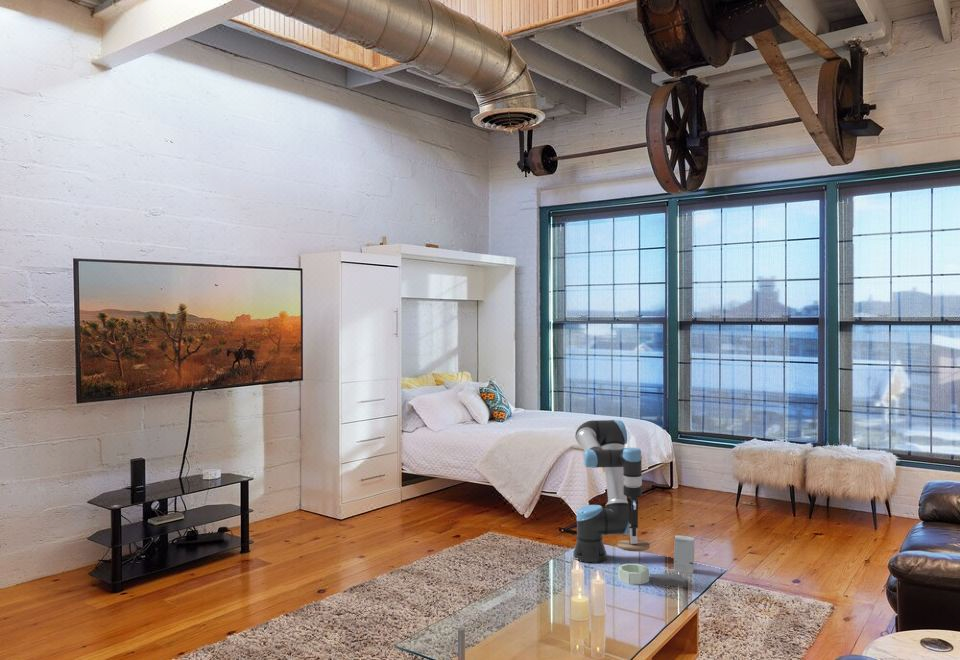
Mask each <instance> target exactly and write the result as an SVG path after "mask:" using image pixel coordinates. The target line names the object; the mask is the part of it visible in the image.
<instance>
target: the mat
mask: <svg viewBox="0 0 960 660" xmlns="http://www.w3.org/2000/svg"><path fill="white" fill-rule="evenodd" d="M649 577H650V578H651V581H652V582H653V585H654V586H682V587H683V586H684V587H685V586H688V583H687V582H686V581H685V579H684V577H683V576H682V574H675V573H672V574H668V573H667V574H665V573H649Z"/></svg>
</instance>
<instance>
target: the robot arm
mask: <svg viewBox="0 0 960 660" xmlns="http://www.w3.org/2000/svg"><path fill="white" fill-rule="evenodd" d="M627 432H628V431H627V427H626V425H625V423H624V422H623V421H622V420H620V419H619V420H618V419H609V420H607V419H604V420H599V419H598V420H594V419H593V420H588V421H585V422H583V423H582V424H581V425H579V426H578V428H577V429H576V431H575V435H574V436H575V440H576V442H577V444H578V445H579V446H580V447H582V449H583V451H584V452H583V463H584V465H583V466H585V467H586V468H592V469H595V468H596V469H597V468H598V469H599V468H604V469H605V471H604V472H605V481H606V490H607V492H606V493H607V502H606V504H605V508H603V506H602V505H599V504H588V505H583V506H581V507H579V508H578V509H577V511H576V542H575V546H574V549H573V556H574V557H575V558H578V559H579V560H581V561H584V562H583V563H587V562H592V563H591V564H593V563H594V564H595V563H596V564H597V563H602V562H605V561H606V560H607V559H608V556H607V555H608V554H607V551H606V550H607V549H606V547H605V545H604V542H603V541H604V537H603V536H615V535H616V536H619V535H620V536H621V535H622V536H625V535H629V528H630V541H631V544H637V540H638V528H639V515H638V513H639V499H638V497H641V496H642V495H643V486H642V484H643V475H642V472H643V471H642V458H643V457H642V450H641V449H640V448H638V447H625V445H626V444H628V433H627ZM627 497H628V498H627ZM629 524H631V527H629ZM574 557H573V558H574ZM581 561H580V562H581Z"/></svg>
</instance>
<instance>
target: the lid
mask: <svg viewBox="0 0 960 660" xmlns="http://www.w3.org/2000/svg"><path fill="white" fill-rule="evenodd" d="M629 527H631V524H629ZM628 535H629V537H628V539H627V538H626V539H621V540H619V541H617V543H616V545H617V548H618V549H620V550H623V551H627V552H644V551H648V550H649V549H650V543H649V542H648V541H646V540H642V539H637V544H631V541H630V528H629V534H628Z"/></svg>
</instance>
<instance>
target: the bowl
mask: <svg viewBox="0 0 960 660" xmlns="http://www.w3.org/2000/svg"><path fill="white" fill-rule="evenodd" d="M617 576H618V580H619V582H621V583H624V584H627V585H644V584H647V583H649V582H650V569H649V567H648V566H645V565H643V564H639V563H624V564H621V565H618V575H617Z"/></svg>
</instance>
